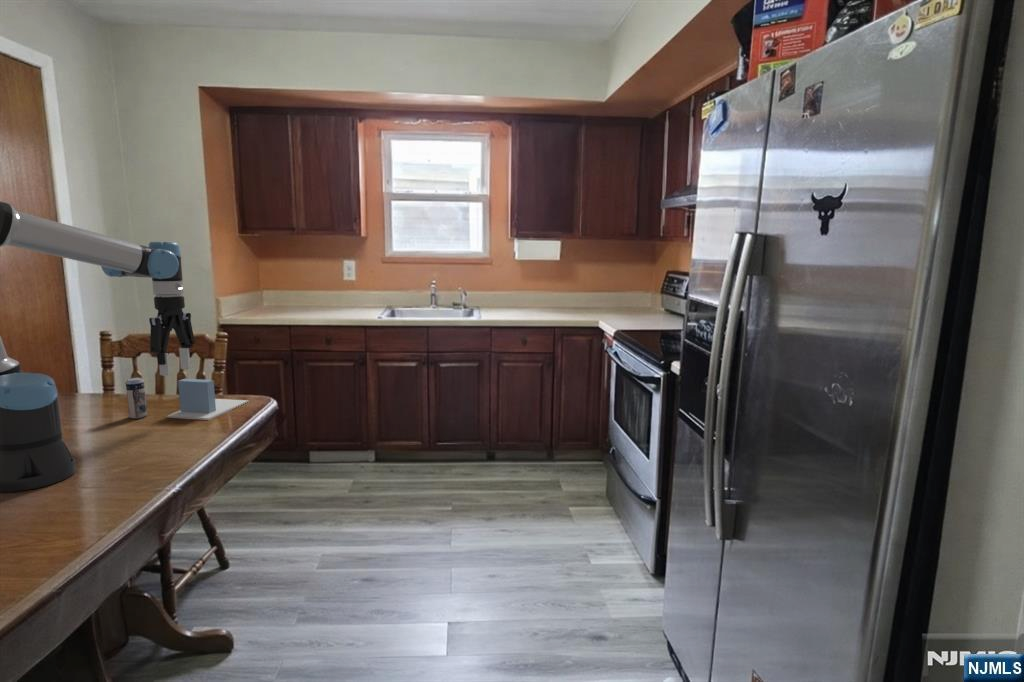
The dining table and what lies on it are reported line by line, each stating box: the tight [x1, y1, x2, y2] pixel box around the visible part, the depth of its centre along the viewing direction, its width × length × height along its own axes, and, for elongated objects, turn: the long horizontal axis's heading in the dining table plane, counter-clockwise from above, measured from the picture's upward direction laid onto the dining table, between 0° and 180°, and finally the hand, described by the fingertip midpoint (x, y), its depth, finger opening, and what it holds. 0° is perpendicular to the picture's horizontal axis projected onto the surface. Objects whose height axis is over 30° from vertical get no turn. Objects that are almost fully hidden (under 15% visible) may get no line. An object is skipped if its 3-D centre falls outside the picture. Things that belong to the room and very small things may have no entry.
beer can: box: [125, 377, 148, 420], centre depth 169 cm, size 5×5×12 cm
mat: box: [166, 398, 250, 421], centre depth 178 cm, size 20×14×1 cm
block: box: [177, 378, 216, 414], centre depth 173 cm, size 3×10×10 cm, turn 82°
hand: (175, 371), depth 164 cm, fingers open, 8 cm apart
